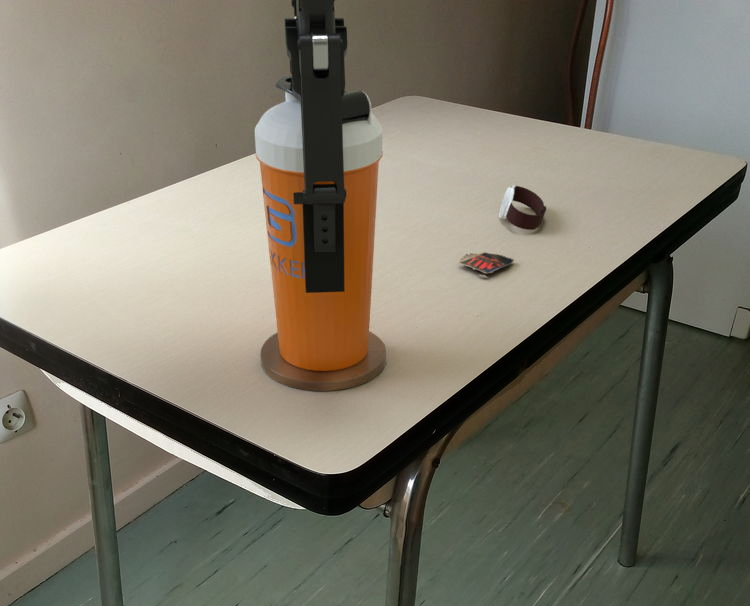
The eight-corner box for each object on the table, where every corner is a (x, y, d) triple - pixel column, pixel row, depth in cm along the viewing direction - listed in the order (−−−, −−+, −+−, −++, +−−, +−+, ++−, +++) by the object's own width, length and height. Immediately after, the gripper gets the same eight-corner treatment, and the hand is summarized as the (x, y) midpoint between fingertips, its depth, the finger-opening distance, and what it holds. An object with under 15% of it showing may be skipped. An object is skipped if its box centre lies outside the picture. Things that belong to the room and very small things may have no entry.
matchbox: (516, 260, 96) (516, 256, 96) (494, 280, 92) (494, 275, 92) (471, 251, 98) (472, 246, 97) (448, 270, 94) (448, 265, 94)
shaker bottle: (324, 314, 85) (318, 63, 73) (403, 349, 80) (410, 87, 68) (244, 350, 80) (223, 87, 68) (323, 391, 75) (316, 114, 63)
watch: (497, 206, 108) (500, 172, 105) (541, 207, 107) (545, 173, 105) (500, 234, 101) (503, 198, 99) (547, 235, 101) (551, 200, 99)
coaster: (261, 393, 76) (260, 384, 76) (260, 332, 84) (260, 323, 84) (392, 388, 77) (392, 379, 76) (379, 328, 85) (380, 319, 84)
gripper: (252, -103, 71) (269, 200, 84) (250, -49, 52) (272, 330, 66) (358, -103, 72) (358, 198, 85) (393, -50, 53) (386, 326, 66)
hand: (320, 256), depth 75 cm, fingers open, 11 cm apart
